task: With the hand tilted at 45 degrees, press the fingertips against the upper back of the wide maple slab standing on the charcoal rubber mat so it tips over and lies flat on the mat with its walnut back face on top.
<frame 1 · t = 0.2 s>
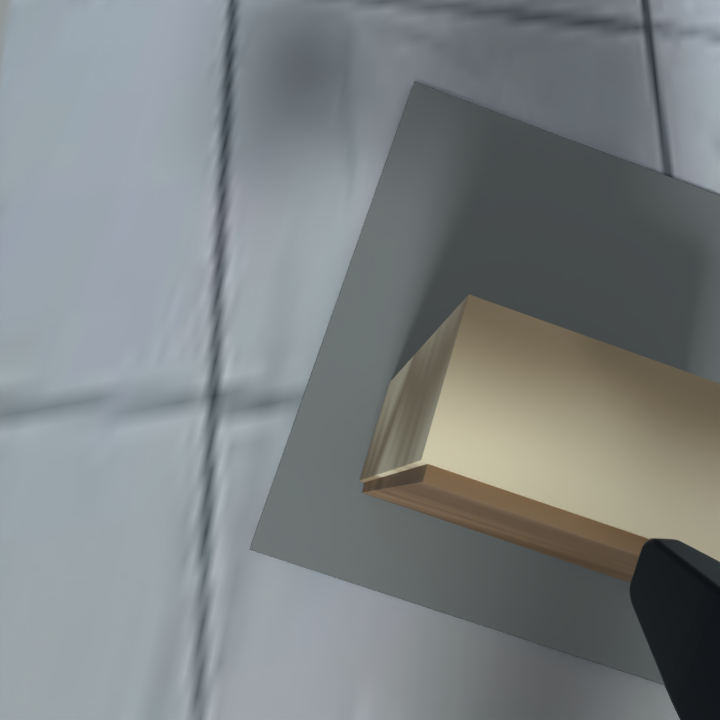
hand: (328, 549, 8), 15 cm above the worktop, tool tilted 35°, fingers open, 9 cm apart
maple slab: (521, 479, 23), resting on rubber mat
rubber mat: (545, 364, 25), on the worktop
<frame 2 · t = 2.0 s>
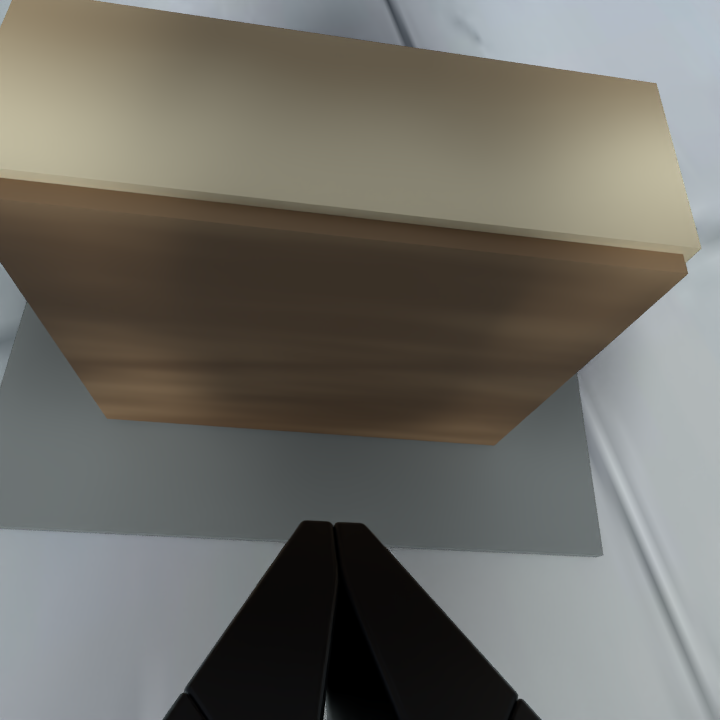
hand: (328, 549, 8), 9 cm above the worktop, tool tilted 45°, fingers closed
maple slab: (312, 363, 19), resting on rubber mat
rubber mat: (319, 243, 22), on the worktop
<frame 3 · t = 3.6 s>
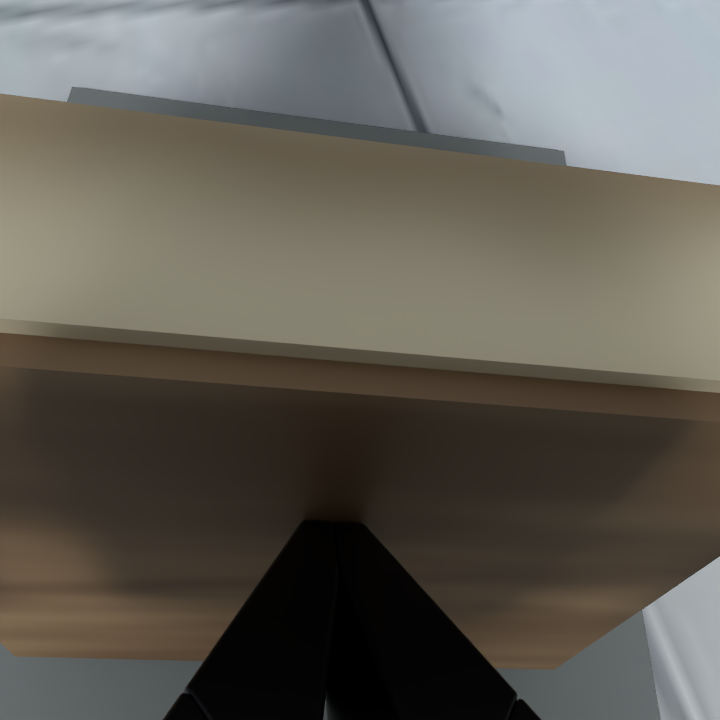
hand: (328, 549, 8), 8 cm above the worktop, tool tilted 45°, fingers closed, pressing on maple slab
maple slab: (303, 559, 15), point 1 cm above the worktop, tilted 15°, touching gripper, rubber mat
rubber mat: (312, 388, 18), on the worktop
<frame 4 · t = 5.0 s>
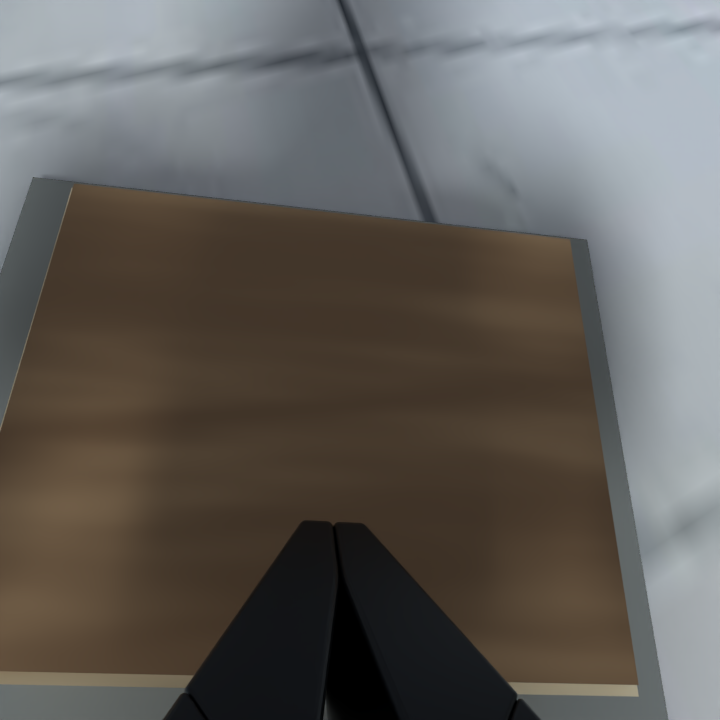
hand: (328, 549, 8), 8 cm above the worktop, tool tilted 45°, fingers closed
maple slab: (299, 683, 12), point 2 cm above the worktop, tilted 90°, touching rubber mat
rubber mat: (302, 546, 15), on the worktop
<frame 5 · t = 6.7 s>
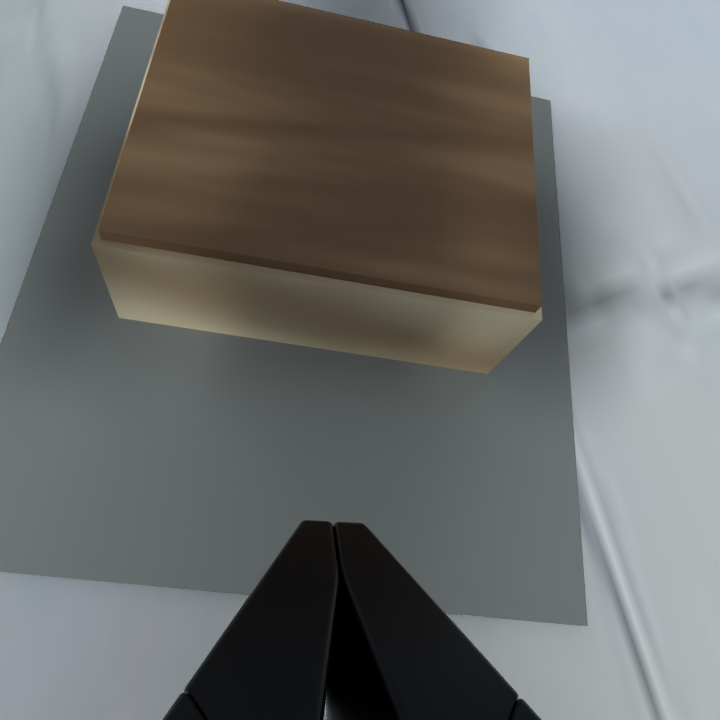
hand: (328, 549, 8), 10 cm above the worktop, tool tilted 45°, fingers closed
maple slab: (318, 318, 18), point 2 cm above the worktop, tilted 90°, touching rubber mat
rubber mat: (319, 275, 21), on the worktop
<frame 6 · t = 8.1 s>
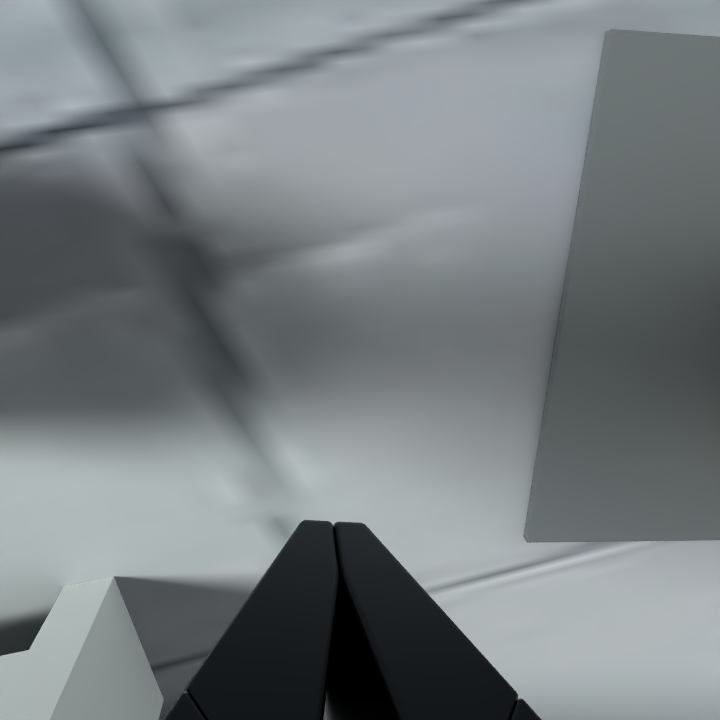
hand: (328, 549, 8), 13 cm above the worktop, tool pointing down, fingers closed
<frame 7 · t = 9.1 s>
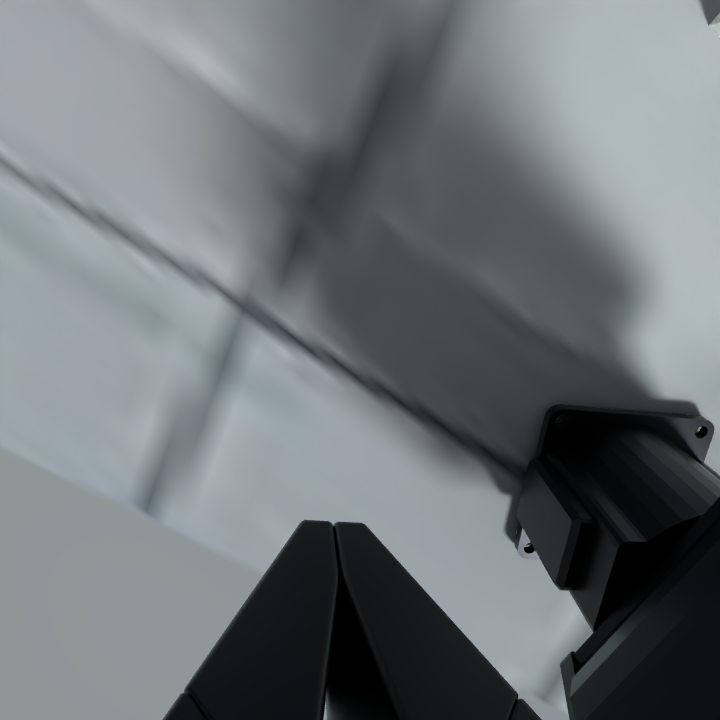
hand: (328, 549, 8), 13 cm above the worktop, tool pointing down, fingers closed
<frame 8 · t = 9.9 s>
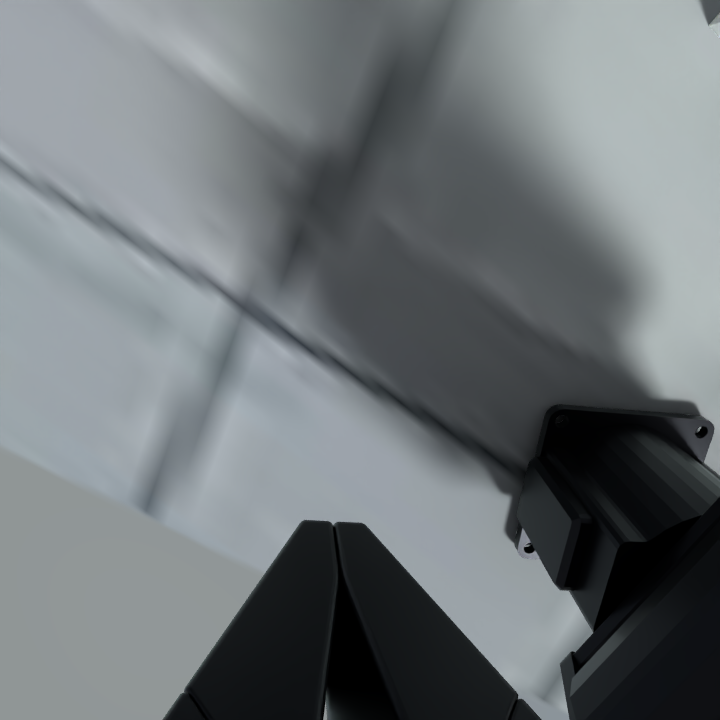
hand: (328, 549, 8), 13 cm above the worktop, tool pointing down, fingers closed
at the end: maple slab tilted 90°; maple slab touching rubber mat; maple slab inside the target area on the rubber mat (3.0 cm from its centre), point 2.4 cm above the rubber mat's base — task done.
